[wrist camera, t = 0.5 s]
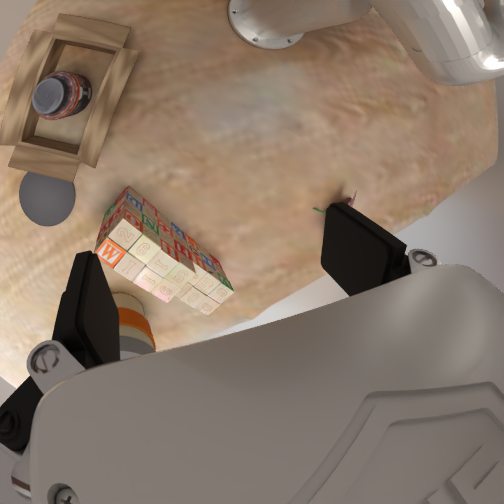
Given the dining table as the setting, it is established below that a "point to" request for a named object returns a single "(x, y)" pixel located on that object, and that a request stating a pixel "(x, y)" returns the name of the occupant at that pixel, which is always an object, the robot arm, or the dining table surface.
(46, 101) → the supplement bottle
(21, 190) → the coaster
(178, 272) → the stack of blocks
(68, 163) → the carton
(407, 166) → the dining table surface
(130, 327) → the reusable coffee cup
